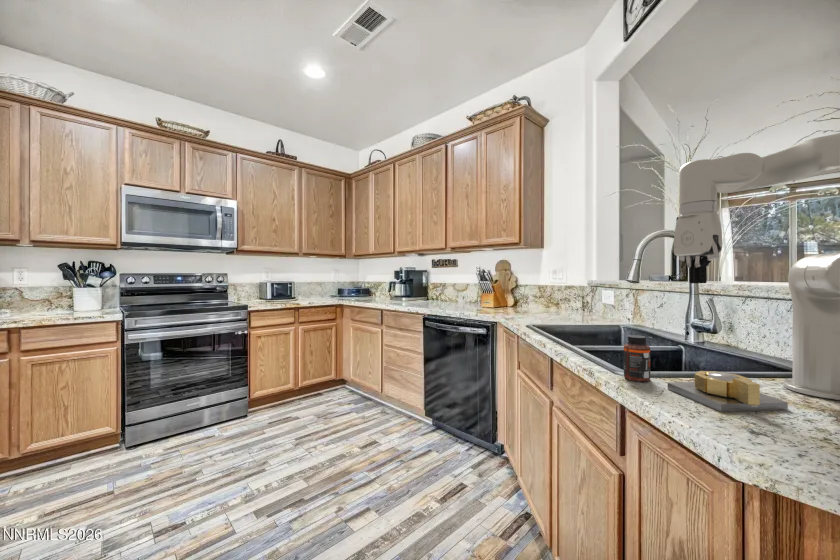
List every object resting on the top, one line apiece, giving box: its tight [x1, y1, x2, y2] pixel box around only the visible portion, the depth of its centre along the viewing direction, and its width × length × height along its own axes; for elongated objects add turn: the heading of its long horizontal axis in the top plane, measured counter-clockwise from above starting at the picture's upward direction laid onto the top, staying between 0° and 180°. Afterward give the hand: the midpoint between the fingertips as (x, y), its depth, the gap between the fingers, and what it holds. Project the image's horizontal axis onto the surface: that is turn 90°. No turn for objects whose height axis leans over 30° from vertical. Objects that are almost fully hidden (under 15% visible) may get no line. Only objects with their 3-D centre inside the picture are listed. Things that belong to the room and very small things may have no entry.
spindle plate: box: [667, 371, 789, 413], centre depth 76 cm, size 14×16×5 cm
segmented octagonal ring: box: [694, 370, 761, 405], centre depth 74 cm, size 13×9×4 cm
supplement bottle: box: [623, 334, 651, 383], centre depth 91 cm, size 6×6×11 cm
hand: (697, 283), depth 88 cm, fingers closed
